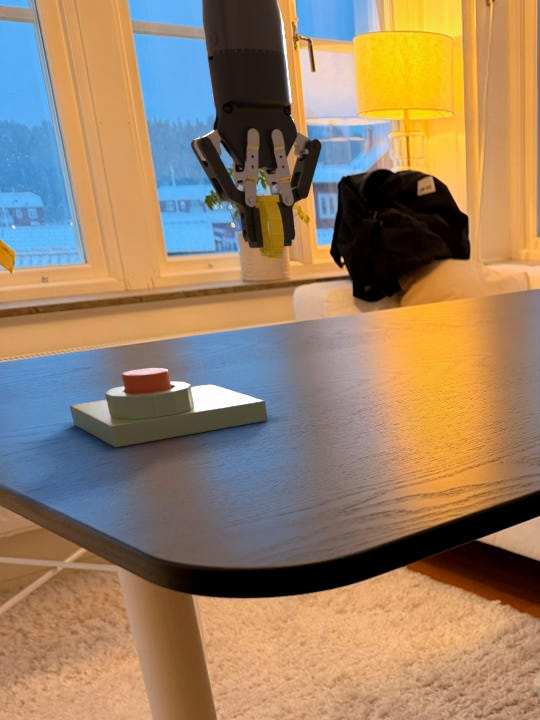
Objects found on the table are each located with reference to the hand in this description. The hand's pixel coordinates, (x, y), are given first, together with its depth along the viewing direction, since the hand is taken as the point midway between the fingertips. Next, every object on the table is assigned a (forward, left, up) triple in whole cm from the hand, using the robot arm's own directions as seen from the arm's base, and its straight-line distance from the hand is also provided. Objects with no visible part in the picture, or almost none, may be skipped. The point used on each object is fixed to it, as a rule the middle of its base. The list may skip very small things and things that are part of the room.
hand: (270, 246), depth 93 cm
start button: (-21, -18, -10) cm, 30 cm away
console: (-19, -16, -13) cm, 28 cm away
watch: (0, 0, -1) cm, 1 cm away
